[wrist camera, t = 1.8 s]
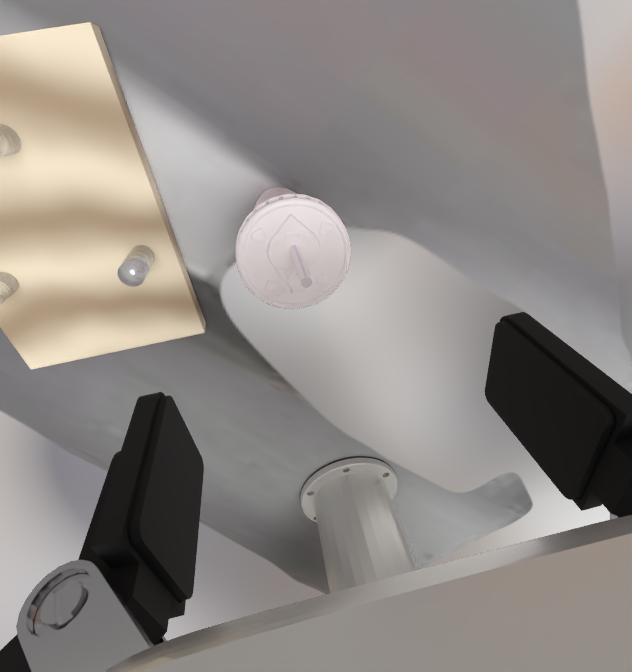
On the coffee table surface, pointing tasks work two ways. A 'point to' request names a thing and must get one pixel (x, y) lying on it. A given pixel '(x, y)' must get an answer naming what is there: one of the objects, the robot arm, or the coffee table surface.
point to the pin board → (80, 209)
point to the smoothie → (292, 249)
